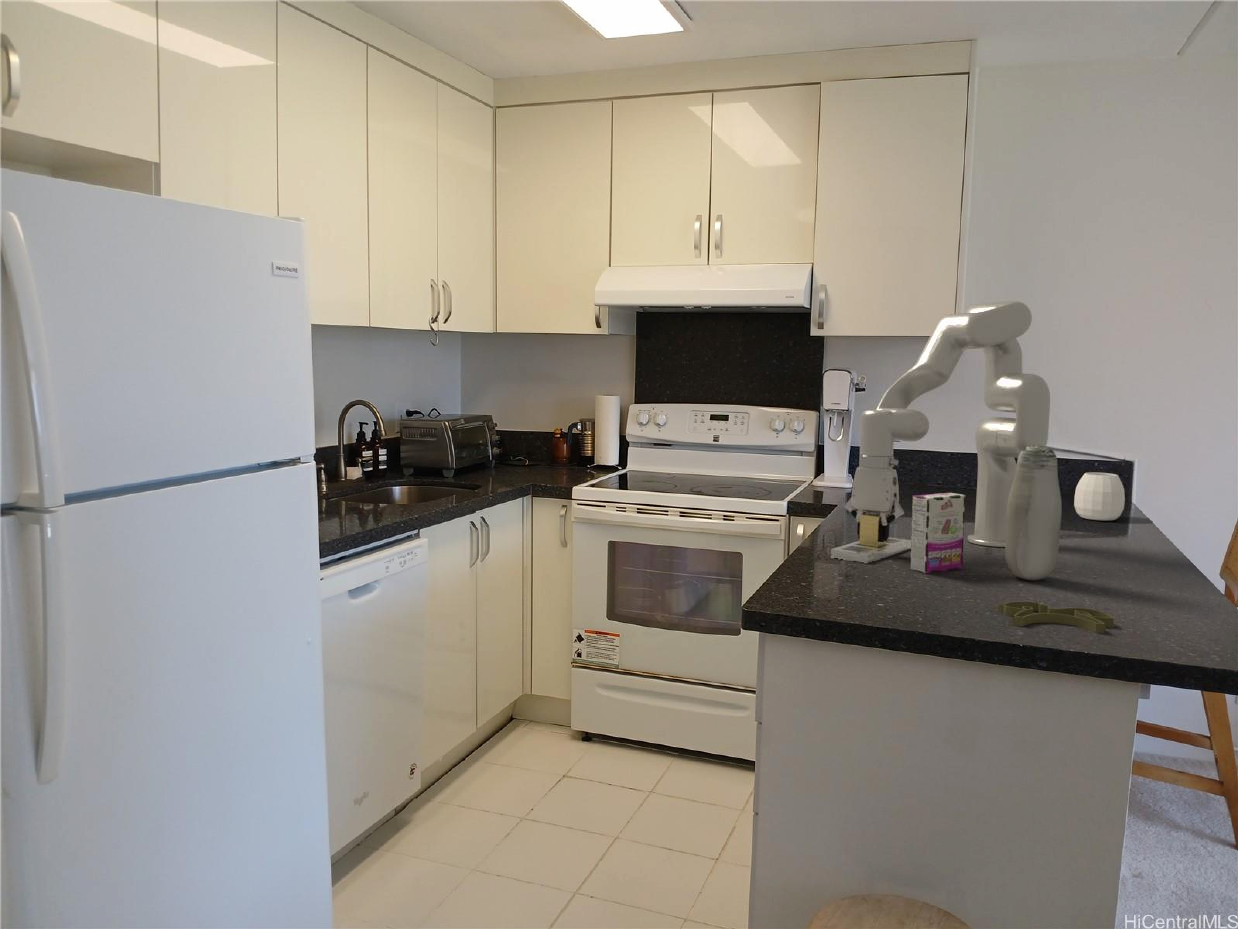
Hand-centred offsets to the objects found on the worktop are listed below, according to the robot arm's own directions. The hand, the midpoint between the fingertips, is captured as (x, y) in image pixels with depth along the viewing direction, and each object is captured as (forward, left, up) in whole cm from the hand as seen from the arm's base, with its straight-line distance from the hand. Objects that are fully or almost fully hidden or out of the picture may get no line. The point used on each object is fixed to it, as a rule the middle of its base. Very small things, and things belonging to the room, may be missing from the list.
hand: (872, 539), depth 215 cm
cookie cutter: (-49, +33, -4) cm, 59 cm away
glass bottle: (-36, +2, -4) cm, 36 cm away
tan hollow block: (0, 0, -2) cm, 2 cm away
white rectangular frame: (0, 0, -3) cm, 3 cm away
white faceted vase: (-27, -95, -4) cm, 99 cm away
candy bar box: (-18, +7, -4) cm, 20 cm away
